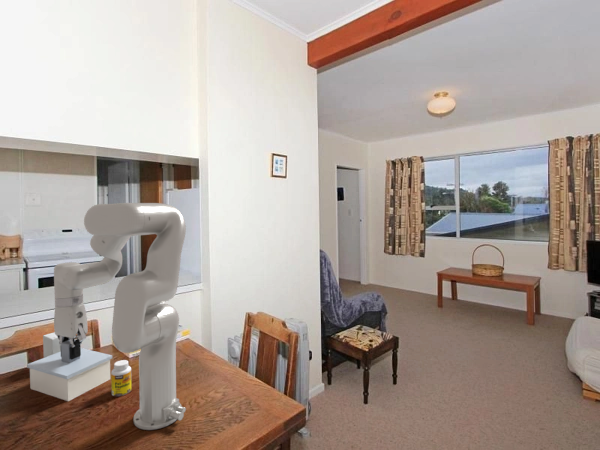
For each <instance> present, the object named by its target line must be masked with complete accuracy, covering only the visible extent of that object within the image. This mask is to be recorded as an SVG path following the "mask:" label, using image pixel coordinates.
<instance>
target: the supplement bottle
mask: <svg viewBox="0 0 600 450" xmlns="http://www.w3.org/2000/svg"><path fill="white" fill-rule="evenodd" d="M110 381H111V396H113V397H122V396H127V395H128V394H129V393H131V392H132V367H131V366H130V365H129V361H128V360H127V359H123V360H122V359H121V360H117V361H115V362H114V363H113V369H112V370H111V371H110Z"/></svg>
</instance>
